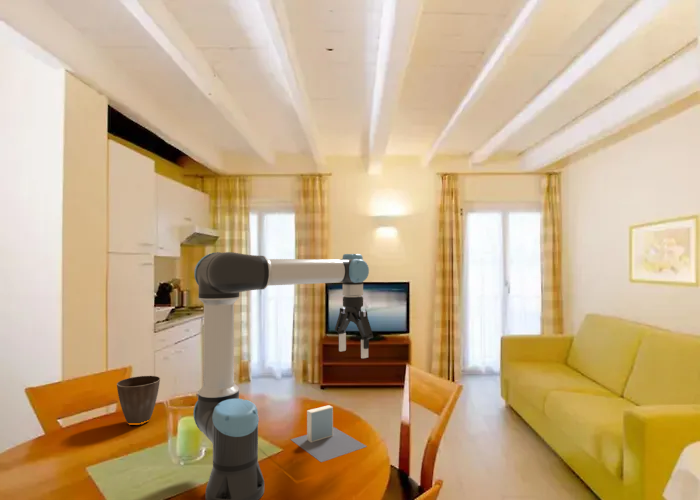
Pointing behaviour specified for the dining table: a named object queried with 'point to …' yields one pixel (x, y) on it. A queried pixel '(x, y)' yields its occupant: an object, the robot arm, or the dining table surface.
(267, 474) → the dining table surface
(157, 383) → the plant pot
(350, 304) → the robot arm
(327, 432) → the tile
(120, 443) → the dining table surface
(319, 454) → the mat
